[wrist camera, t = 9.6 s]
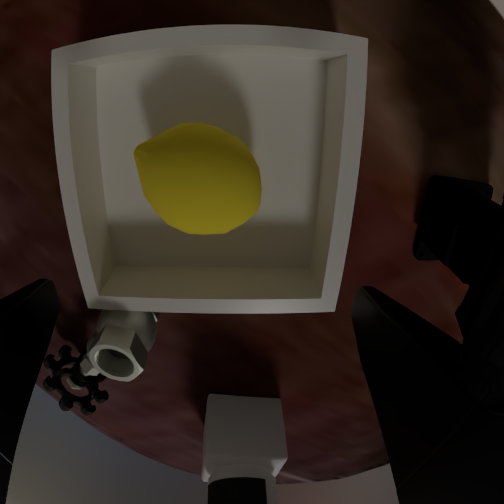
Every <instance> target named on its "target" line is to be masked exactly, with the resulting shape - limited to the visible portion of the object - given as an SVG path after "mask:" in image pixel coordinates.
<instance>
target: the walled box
mask: <svg viewBox="0 0 504 504" xmlns="http://www.w3.org/2000/svg"><path fill="white" fill-rule="evenodd" d="M367 58H368V38H363V37H358V36H352V35H347V34H341V33H335V32H328V31H321V30H313V29H305V28H295V27H283V26H268V25H196V26H181V27H169V28H160V29H151V30H143V31H136V32H130V33H124V34H118V35H112V36H107V37H102V38H97V39H93V40H88V41H84V42H80V43H76V44H72V45H68V46H64V47H61V48H57V49H54V50H52V66H51V84H52V113H53V128H54V140H55V150H56V159H57V168H58V175H59V182H60V189H61V195H62V201H63V207H64V212H65V217H66V223H67V227H68V232H69V237H70V241H71V246H72V250H73V254H74V259H75V263H76V266H77V270H78V274H79V278H80V282H81V285H82V289H83V292H84V296H85V299H86V302H87V306H88V308H92V309H108V310H125V311H146V312H174V313H309V312H335V308H336V303H337V298H338V294H339V289H340V284H341V279H342V274H343V268H344V263H345V258H346V252H347V246H348V240H349V234H350V228H351V222H352V215H353V209H354V202H355V195H356V187H357V180H358V172H359V163H360V154H361V145H362V135H363V124H364V111H365V97H366V81H367ZM180 123H204V124H208V125H212V126H215V127H218V128H220V129H222V130H224V131H226V132H228V133H230V134H232V135H234V136H236V137H238V138H239V139H240V140H241V141H242V142H243V144H244V145H245V146H246V147H247V148H248V149H249V151H250V152H251V154H252V156H253V157H254V159H255V161H256V163H257V164H258V166H259V168H260V176H261V185H262V193H261V202H260V206H259V209H258V211H257V212H256V213H255V214H254V215H253V216H252V217H251V218H250V219H248V220H247V221H246V222H245V223H244V224H242V225H240V226H238V227H236V228H235V229H233V230H231V231H229V232H227V233H225V234H207V235H201V234H188V233H186V232H183V231H181V230H179V229H177V228H174V227H172V226H170V225H168V224H167V223H166V222H165V221H164V220H163V219H162V218H161V217H160V216H159V215H158V214H157V213H156V212H155V211H154V209H153V208H152V206H151V205H150V203H149V202H148V200H147V199H146V197H145V196H144V194H143V190H142V186H141V182H140V178H139V175H138V171H137V167H136V163H135V159H134V155H133V153H134V150H135V148H136V147H137V145H139V144H141V143H143V142H145V141H147V140H148V139H150V138H152V137H154V136H156V135H158V134H160V133H162V132H164V131H166V130H168V129H170V128H172V127H174V126H176V125H178V124H180Z"/></svg>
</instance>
